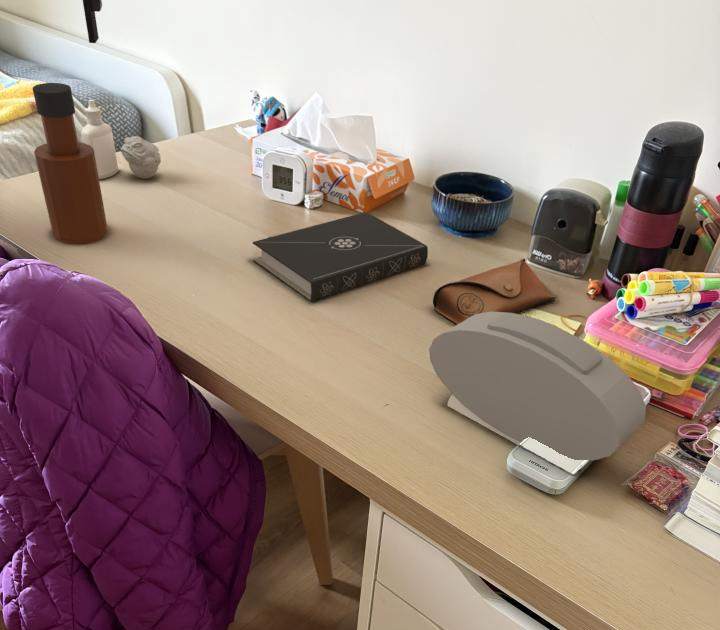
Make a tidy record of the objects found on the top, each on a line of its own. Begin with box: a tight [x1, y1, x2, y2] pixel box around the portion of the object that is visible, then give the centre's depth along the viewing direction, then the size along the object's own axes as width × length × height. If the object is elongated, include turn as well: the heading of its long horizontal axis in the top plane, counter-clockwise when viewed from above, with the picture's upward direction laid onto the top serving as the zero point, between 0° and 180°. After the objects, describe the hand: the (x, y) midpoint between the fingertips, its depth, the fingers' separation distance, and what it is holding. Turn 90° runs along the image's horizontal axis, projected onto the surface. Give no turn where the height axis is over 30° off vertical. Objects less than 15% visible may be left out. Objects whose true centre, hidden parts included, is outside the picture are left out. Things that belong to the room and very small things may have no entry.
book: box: [252, 211, 429, 303], centre depth 106 cm, size 22×15×3 cm
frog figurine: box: [120, 135, 162, 179], centre depth 124 cm, size 6×7×7 cm
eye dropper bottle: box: [80, 99, 119, 180], centre depth 122 cm, size 4×6×12 cm
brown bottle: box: [33, 114, 108, 245], centre depth 103 cm, size 8×8×17 cm
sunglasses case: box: [432, 257, 558, 325], centre depth 100 cm, size 18×7×7 cm
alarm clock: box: [428, 312, 647, 461], centre depth 76 cm, size 23×6×13 cm, turn 48°
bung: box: [32, 82, 76, 118], centre depth 97 cm, size 5×5×6 cm
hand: (38, 37), depth 92 cm, fingers open, 13 cm apart
